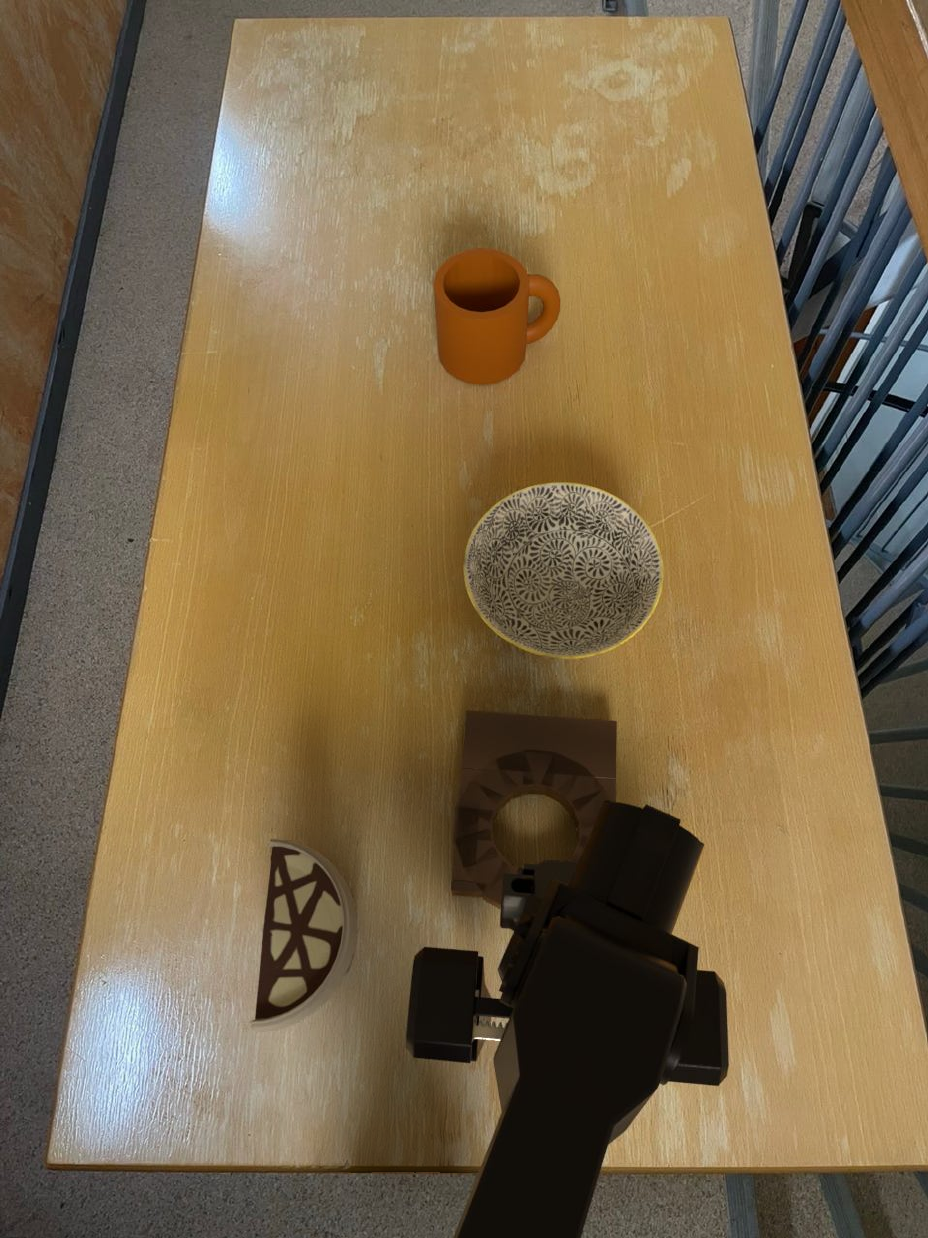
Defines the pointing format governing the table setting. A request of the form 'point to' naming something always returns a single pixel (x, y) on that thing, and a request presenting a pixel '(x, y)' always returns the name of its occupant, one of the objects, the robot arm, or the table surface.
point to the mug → (488, 314)
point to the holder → (525, 785)
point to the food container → (302, 936)
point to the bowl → (563, 570)
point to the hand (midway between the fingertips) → (555, 1018)
